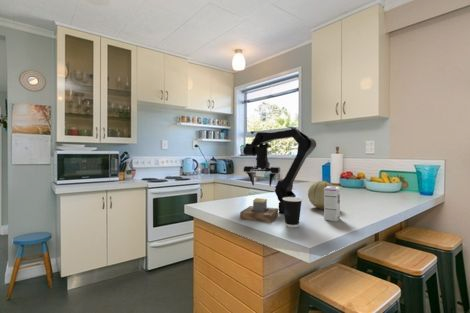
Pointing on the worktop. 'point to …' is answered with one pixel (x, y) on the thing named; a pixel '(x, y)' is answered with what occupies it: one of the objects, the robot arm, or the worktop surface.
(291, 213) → the dixie cup
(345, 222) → the worktop surface
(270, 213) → the socket block
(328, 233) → the worktop surface
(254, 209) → the plug
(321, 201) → the cantaloupe
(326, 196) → the syrup box
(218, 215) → the worktop surface
